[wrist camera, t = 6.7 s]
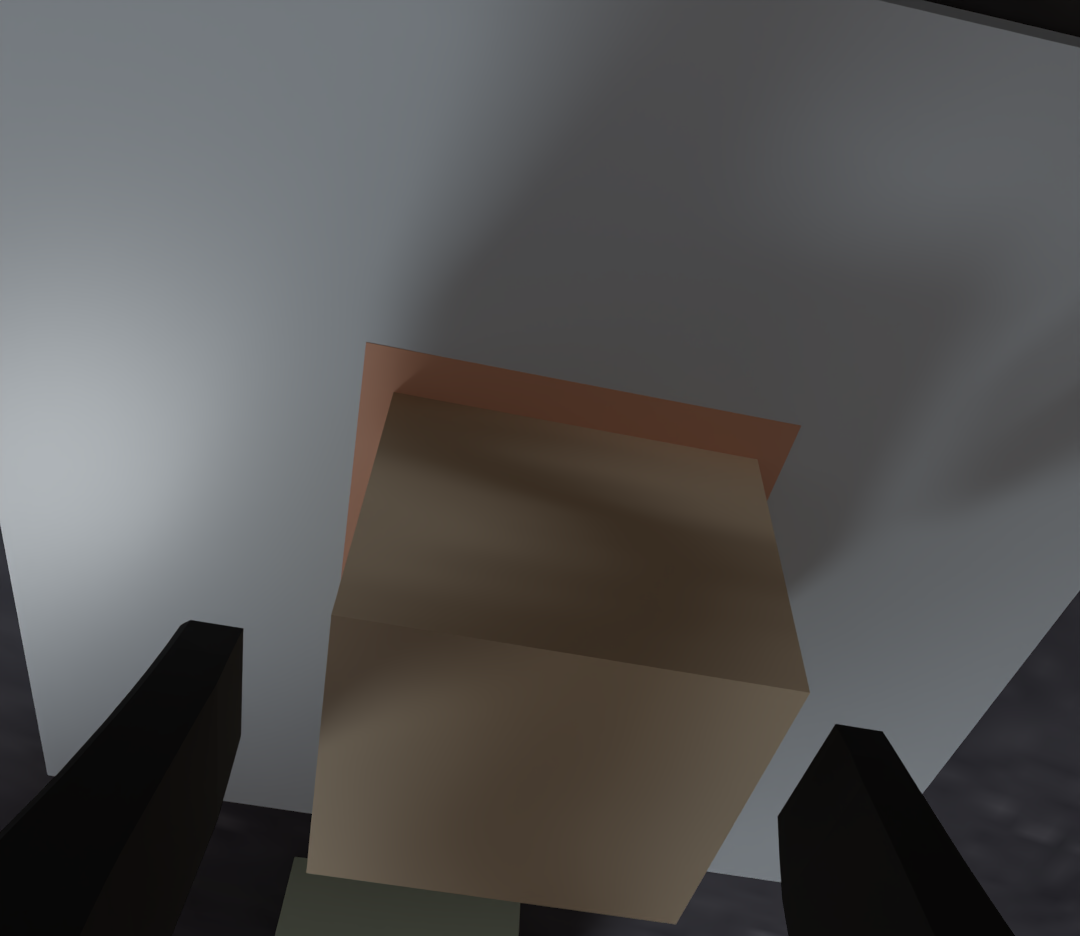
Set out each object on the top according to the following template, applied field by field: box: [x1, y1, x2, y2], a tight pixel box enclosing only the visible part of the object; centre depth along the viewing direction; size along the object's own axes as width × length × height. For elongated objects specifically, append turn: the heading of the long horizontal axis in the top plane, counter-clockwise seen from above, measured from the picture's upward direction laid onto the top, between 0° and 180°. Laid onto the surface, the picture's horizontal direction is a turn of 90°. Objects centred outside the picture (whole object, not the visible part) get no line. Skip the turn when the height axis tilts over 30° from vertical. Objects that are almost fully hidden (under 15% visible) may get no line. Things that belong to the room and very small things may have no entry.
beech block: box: [306, 392, 810, 924], centre depth 13 cm, size 5×5×4 cm
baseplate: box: [0, 0, 1080, 882], centre depth 15 cm, size 16×16×1 cm
